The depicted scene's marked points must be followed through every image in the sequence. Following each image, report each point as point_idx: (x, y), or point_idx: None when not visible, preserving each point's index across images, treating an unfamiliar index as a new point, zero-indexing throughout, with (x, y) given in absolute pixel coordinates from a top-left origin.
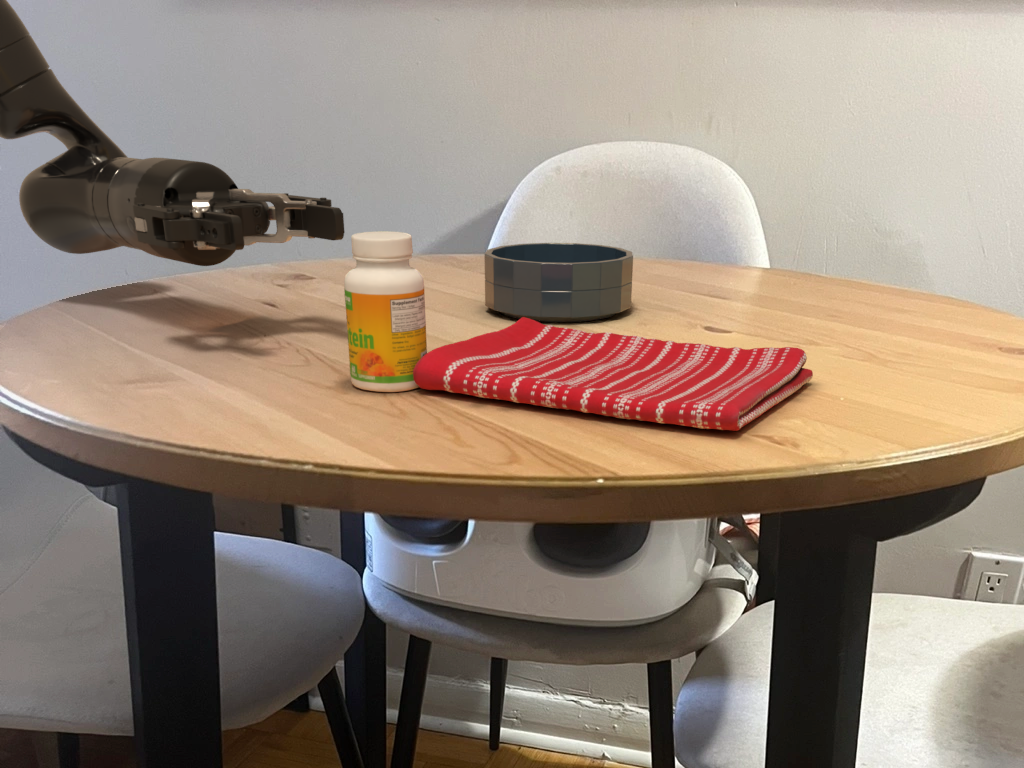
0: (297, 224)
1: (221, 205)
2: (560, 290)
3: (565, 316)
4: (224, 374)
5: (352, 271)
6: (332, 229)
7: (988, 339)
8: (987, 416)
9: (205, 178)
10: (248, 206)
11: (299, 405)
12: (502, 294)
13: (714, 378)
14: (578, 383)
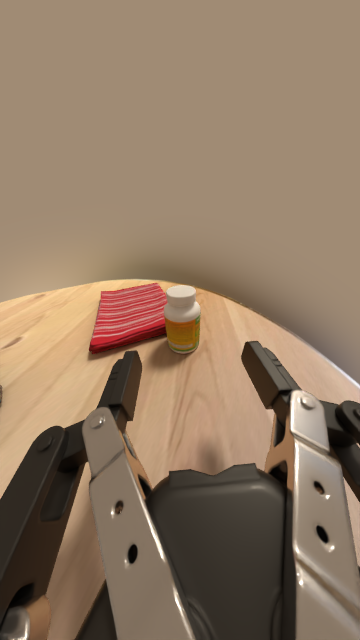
0: (49, 560)
1: (260, 518)
2: None
3: (1, 388)
4: (250, 403)
5: (196, 306)
6: (139, 365)
7: (20, 302)
8: (113, 282)
9: None
10: (197, 475)
11: (227, 337)
12: None
13: (127, 296)
14: (154, 303)
